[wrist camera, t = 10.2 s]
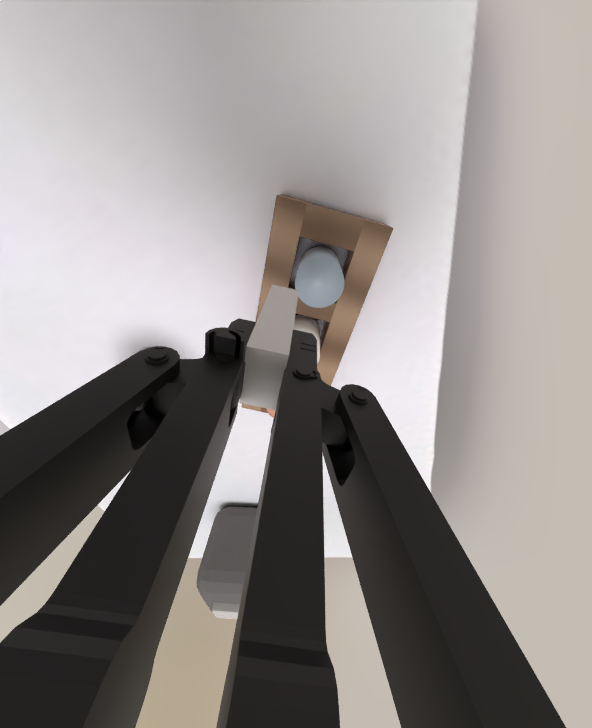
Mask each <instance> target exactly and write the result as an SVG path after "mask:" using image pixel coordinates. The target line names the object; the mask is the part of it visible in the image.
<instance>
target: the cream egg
mask: <svg viewBox="0 0 592 728" xmlns="http://www.w3.org/2000/svg"><path fill="white" fill-rule="evenodd" d="M293 329H294V330H298V331H303V332H308V333H312V334H313V335H314V336H315V338H316V339H317V364H318V362H319V359H320V331H319V326H318V324H317V323H316V321H315V320H314V319H312V318H311V317H308V316H304V315H297V316H295V320H294V326H293Z"/></svg>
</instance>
